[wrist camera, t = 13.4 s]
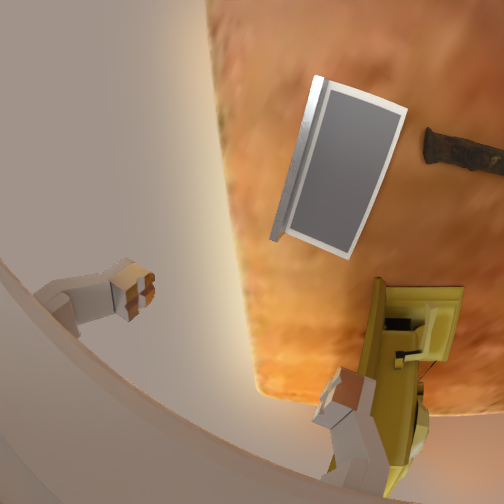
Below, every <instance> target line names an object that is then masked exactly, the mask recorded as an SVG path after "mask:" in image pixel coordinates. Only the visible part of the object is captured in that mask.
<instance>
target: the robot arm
mask: <svg viewBox="0 0 504 504" xmlns="http://www.w3.org/2000/svg"><path fill="white" fill-rule="evenodd" d="M154 281H155V276H154V274H153V273H151V272H150V271H149V270H147V269H145V268H144V267H142V266H140V265H139V264H137V263H136V262H134V261H132V260H130V259H129V258H123V259H122V260H120V261H119V262H117V263H116V264H115V265H113V266H112V267H111V268H109V269H107V270H106V271H105V272H103V273H102V274H100V275H99V274H98V273H97V274H90V275H84V276H78V277H72V278H65V279H60V280H53V281H51V282H50V283H48V284H47V285H45V286H44V287H43V288H41V289H40V290H38V291H37V292H36V293H34V294H31V293H30V292H29V291H28V289H27V288H26V287H25V286H24V285H23V284H22V283H21V282H20V280H18V278H17V277H16V276H15V275H14V274H13V272H12V271H11V270H10V269H9V268H8V267H7V265H6V264H5V262H4V261H3V260H2V259H1V258H0V504H420V503H413V502H406V501H400V500H395V499H389V498H384V497H383V495H384V491H385V487H386V483H387V479H388V475H389V471H390V465H389V462H388V459H387V456H386V453H385V450H384V447H383V444H382V441H381V439H380V436H379V433H378V430H377V427H376V424H375V422H374V419H373V417H371V416H370V412H371V407H372V403H373V398H374V392H375V387H376V380H373V379H371V378H368V377H366V376H363V375H361V374H359V373H356V372H354V371H351V370H349V369H346V368H344V367H341V366H340V367H339V368H338V369H337V371H336V373H335V376H334V377H331V378H330V380H329V381H328V382H327V384H326V386H325V388H324V390H323V392H322V394H321V397H320V400H321V403H320V404H319V405H318V406H317V408H316V411H315V413H314V416H313V418H312V422H314V423H316V424H319V425H321V426H323V427H326V428H328V429H330V433H331V438H332V444H333V449H334V455H335V461H336V467H337V468H336V469H334V470H332V471H331V472H329V473H327V474H324V475H322V477H321V479H320V480H318V479H315V478H312V477H309V476H306V475H303V474H300V473H297V472H295V471H292V470H290V469H287V468H285V467H282V466H279V465H277V464H275V463H272V462H270V461H268V460H265V459H263V458H260V457H258V456H256V455H254V454H252V453H250V452H248V451H246V450H243V449H241V448H239V447H237V446H235V445H233V444H231V443H229V442H227V441H225V440H223V439H221V438H219V437H218V436H216V435H214V434H212V433H210V432H208V431H206V430H205V429H203V428H201V427H199V426H198V425H196V424H194V423H192V422H191V421H189V420H187V419H186V418H184V417H182V416H181V415H179V414H177V413H176V412H174V411H173V410H171V409H169V408H168V407H166V406H165V405H163V404H162V403H160V402H159V401H157V400H156V399H154V398H153V397H151V396H150V395H148V394H147V393H145V392H144V391H142V390H141V389H140V388H138V387H137V386H135V385H134V384H133V383H131V382H130V381H129V380H127V379H126V378H124V377H123V376H122V375H120V374H119V373H118V372H117V371H115V370H114V369H113V368H111V367H110V366H109V365H108V364H106V363H105V362H104V361H103V360H101V359H100V358H99V357H98V356H96V355H95V354H94V353H93V352H92V351H91V350H89V349H88V348H87V347H86V346H85V345H84V344H82V343H81V342H80V341H79V340H78V338H79V337H80V335H81V333H80V330H79V327H78V325H80V324H83V323H87V322H90V321H93V320H96V319H100V318H103V317H106V316H109V315H113V314H115V313H116V314H117V315H119V316H120V317H122V318H123V319H125V320H126V321H128V322H130V321H131V320H132V319H133V318H134V317H135V316H137V315H138V314H139V310H140V308H145V307H147V306H148V305H149V304H150V303H151V301H152V299H153V298H154V294H155V288H154V286H153V284H152V282H154Z"/></svg>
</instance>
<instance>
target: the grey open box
mask: <svg viewBox="0 0 504 504" xmlns="http://www.w3.org/2000/svg"><path fill="white" fill-rule="evenodd" d="M407 110H408V109H407V108H404V107H402V106H400V105H397V104H395V103H393V102H390V101H388V100H385V99H383V98H380V97H377V96H375V95H372V94H369V93H367V92H364V91H361V90H358V89H355V88H352V87H349V86H346V85H343V84H340V83H337V82H333V81H330V80H328V79H326V78H324V77H320V76H317V75H314V79H313V83H312V87H311V90H310V94H309V98H308V102H307V105H306V109H305V113H304V116H303V120H302V124H301V127H300V131H299V135H298V138H297V142H296V146H295V149H294V153H293V157H292V160H291V164H290V167H289V171H288V175H287V178H286V182H285V185H284V189H283V192H282V196H281V200H280V203H279V207H278V210H277V214H276V217H275V221H274V224H273V228H272V231H271V235H270V238H269V239H270V240H272V241H274V242H277V241H278V240H279V239H280V238H281V237H282V235H283V234H284V233H286V234H289V235H291V236H293V237H296V238H298V239H300V240H303V241H305V242H307V243H310V244H312V245H314V246H317V247H319V248H321V249H324V250H326V251H328V252H331V253H333V254H335V255H337V256H340V257H342V258H344V259H346V260H349V258H350V256H351V254H352V252H353V250H354V247H355V245H356V243H357V241H358V239H359V236H360V234H361V232H362V229H363V227H364V225H365V223H366V220H367V218H368V216H369V213H370V211H371V208H372V206H373V204H374V201H375V199H376V196H377V194H378V191H379V189H380V186H381V184H382V181H383V178H384V176H385V173H386V171H387V168H388V165H389V163H390V160H391V157H392V154H393V152H394V149H395V146H396V143H397V140H398V137H399V134H400V131H401V128H402V125H403V122H404V119H405V116H406V113H407Z"/></svg>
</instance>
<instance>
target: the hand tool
mask: <svg viewBox="0 0 504 504" xmlns="http://www.w3.org/2000/svg"><path fill="white" fill-rule="evenodd" d="M423 154H424V158H425V161H426V163H427V164H432V163H437V162H445V163H450V164H455V165H459V166H461V167H463V168H468V169H469V170H470V171H475V170H478V169H479V170H484V171H488V172H491V173H497V174H500V175H504V151H503V150H500V149H497V148H494V147H490V146H487V145H482V144H479V143H475V142H473V141H470V140H467V139H463V138H457V137H450V136H446V135H442V134H438V133H435V132H432V130H431V129H430V128H429V127H427V128H426V132H425V139H424V151H423Z"/></svg>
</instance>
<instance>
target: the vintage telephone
mask: <svg viewBox="0 0 504 504" xmlns="http://www.w3.org/2000/svg"><path fill="white" fill-rule="evenodd" d="M463 292H464V287H386V283H385V281H384V280H383V279H382V278H381V277H375V280H374V287H373V294H372V300H371V307H370V313H369V318H368V324H367V329H366V335H365V340H364V345H363V349H362V354H361V359H360V363H359V368H358V372H357V373H359V374H361V375H363V376H366V377H368V378H371V379H373V380H376V387H375V392H374V398H373V403H372V407H371V412H370V416H371V417H373V419H374V422H375V424H376V427H377V430H378V433H379V436H380V439H381V441H382V444H383V447H384V450H385V453H386V456H387V459H388V462H389V465H390V471H389V475H388V479H387V483H386V487H385V491H384V495H383V497H384V498H388V497H389V495H390V494H391V492H392V490H393V489H394V487H395V485H396V484H397V482H398V481H399V479H401V478H402V477H404V476H405V475H406V473H407V471H408V469H409V467H410V465H411V463H412V461H413V457H414V456H415V455H417V454H418V453H420V452H421V450H422V448H423V445H424V443H425V440H426V438H427V435H428V433H429V412H428V409H427V408H426V407H425V406H424V405H423V404H422V401H423V392H424V384H423V382H418V381H419V380H420V379H421V378H422V377H423V376H422V377H421V378H420V379H419V380H418V365H419V361H435V362H436V361H447V359H448V356H449V353H450V349H451V345H452V342H453V338H454V334H455V330H456V326H457V321H458V317H459V312H460V308H461V303H462V297H463ZM435 362H434V363H435ZM434 363H433V364H434ZM433 364H432V365H431V367H432V366H433ZM431 367H430V368H431ZM430 368H429V369H430ZM429 369H428V370H429ZM428 370H427V371H428ZM427 371H426V372H427ZM426 372H425V373H426ZM336 468H337V467H336V461H335V455H333V458H332V461H331V464H330V466H329V469H328V472H327V473H329V472H331V471H332V470H334V469H336Z"/></svg>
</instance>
